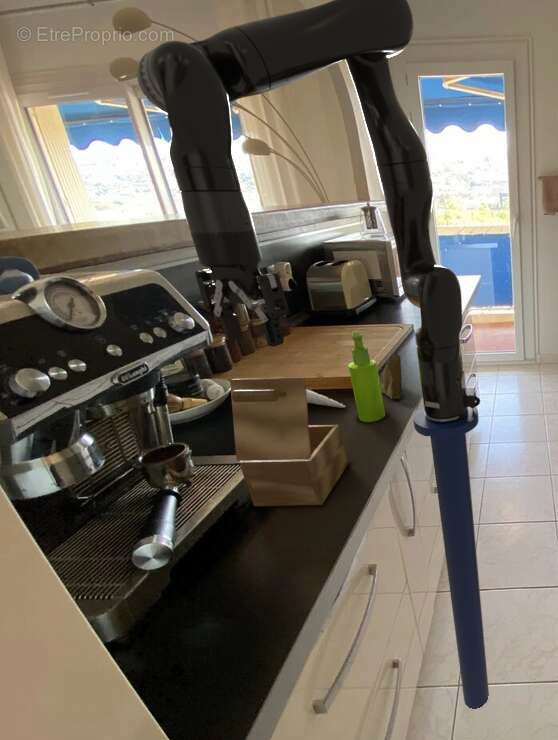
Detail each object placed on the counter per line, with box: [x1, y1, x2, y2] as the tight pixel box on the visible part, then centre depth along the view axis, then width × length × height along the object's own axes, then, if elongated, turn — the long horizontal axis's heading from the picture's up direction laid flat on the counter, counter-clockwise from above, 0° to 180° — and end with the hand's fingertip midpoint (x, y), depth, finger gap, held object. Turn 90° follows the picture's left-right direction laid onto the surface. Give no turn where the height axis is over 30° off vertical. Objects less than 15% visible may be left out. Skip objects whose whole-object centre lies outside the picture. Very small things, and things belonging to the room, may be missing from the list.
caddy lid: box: [229, 376, 311, 462], centre depth 69 cm, size 13×11×5 cm
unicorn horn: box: [306, 388, 347, 408], centre depth 111 cm, size 5×24×5 cm, turn 64°
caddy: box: [238, 424, 349, 507], centre depth 79 cm, size 12×11×9 cm
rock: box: [380, 352, 402, 400], centre depth 115 cm, size 11×9×10 cm
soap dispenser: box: [348, 330, 386, 423], centre depth 101 cm, size 6×7×20 cm
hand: (255, 342), depth 68 cm, fingers open, 8 cm apart
